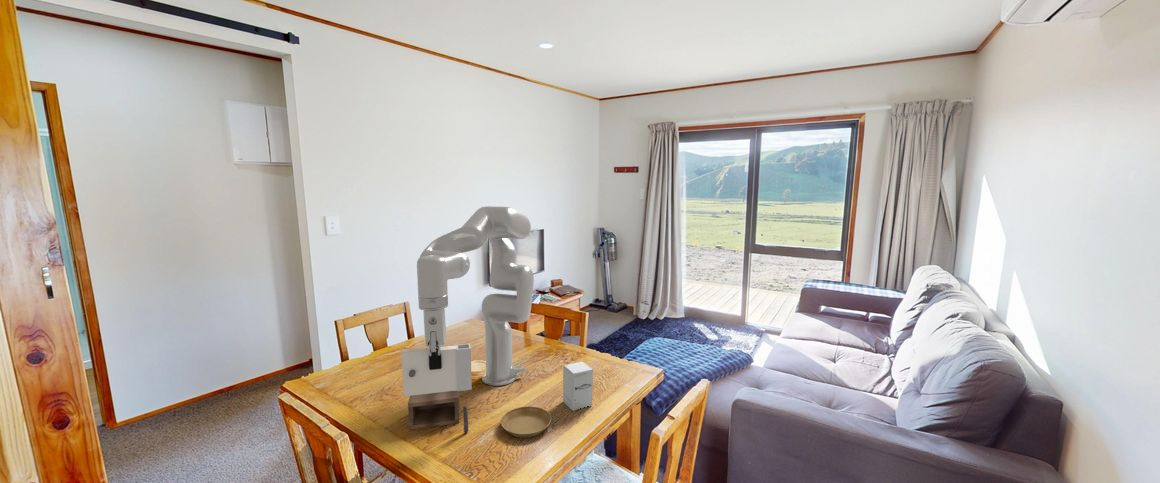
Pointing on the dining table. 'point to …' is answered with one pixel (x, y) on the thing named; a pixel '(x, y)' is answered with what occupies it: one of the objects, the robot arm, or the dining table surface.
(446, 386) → the door
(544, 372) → the dining table surface
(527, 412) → the plant saucer
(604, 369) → the dining table surface
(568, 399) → the supplement box
